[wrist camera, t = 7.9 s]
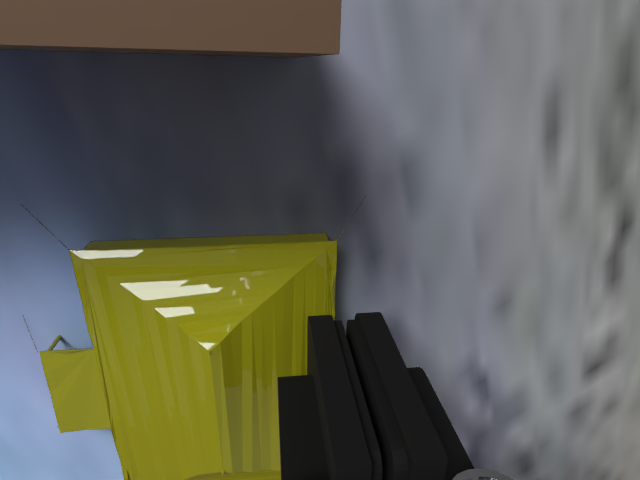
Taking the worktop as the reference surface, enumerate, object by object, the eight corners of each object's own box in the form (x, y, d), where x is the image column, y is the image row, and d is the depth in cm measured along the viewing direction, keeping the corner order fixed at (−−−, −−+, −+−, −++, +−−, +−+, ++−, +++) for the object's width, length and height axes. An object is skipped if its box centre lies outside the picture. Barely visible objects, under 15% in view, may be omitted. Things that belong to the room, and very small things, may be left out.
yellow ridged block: (364, 457, 14) (387, 546, 12) (74, 484, 13) (27, 589, 11) (386, 159, 10) (427, 194, 8) (-24, 165, 9) (-136, 207, 7)
